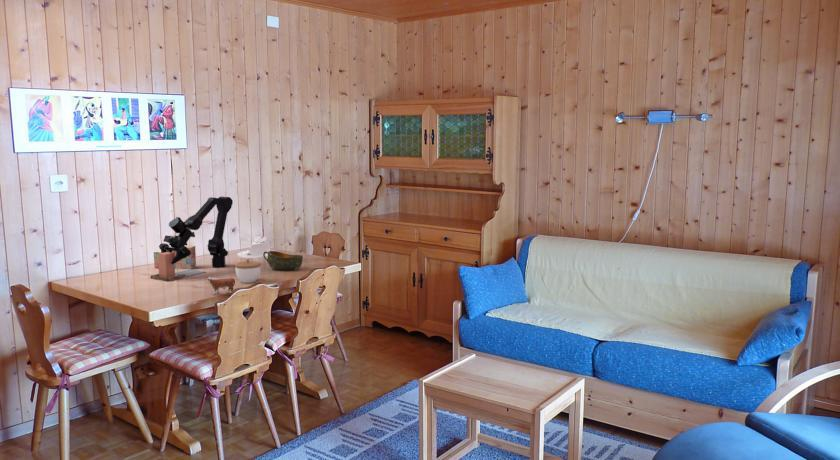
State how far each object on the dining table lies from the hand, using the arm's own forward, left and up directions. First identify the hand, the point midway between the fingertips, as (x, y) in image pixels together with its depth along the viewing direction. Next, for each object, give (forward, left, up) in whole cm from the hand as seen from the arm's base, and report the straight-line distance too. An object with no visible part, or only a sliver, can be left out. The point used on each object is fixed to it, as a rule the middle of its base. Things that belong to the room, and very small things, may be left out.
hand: (165, 262), depth 341 cm
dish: (-40, -62, -9) cm, 75 cm away
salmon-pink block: (0, 0, -8) cm, 8 cm away
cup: (-58, -15, -8) cm, 61 cm away
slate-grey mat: (-9, -11, -8) cm, 16 cm away
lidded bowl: (-42, +12, -8) cm, 45 cm away
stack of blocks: (+1, -28, -8) cm, 29 cm away
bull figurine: (-32, +37, -8) cm, 50 cm away
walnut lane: (0, 0, -8) cm, 8 cm away
